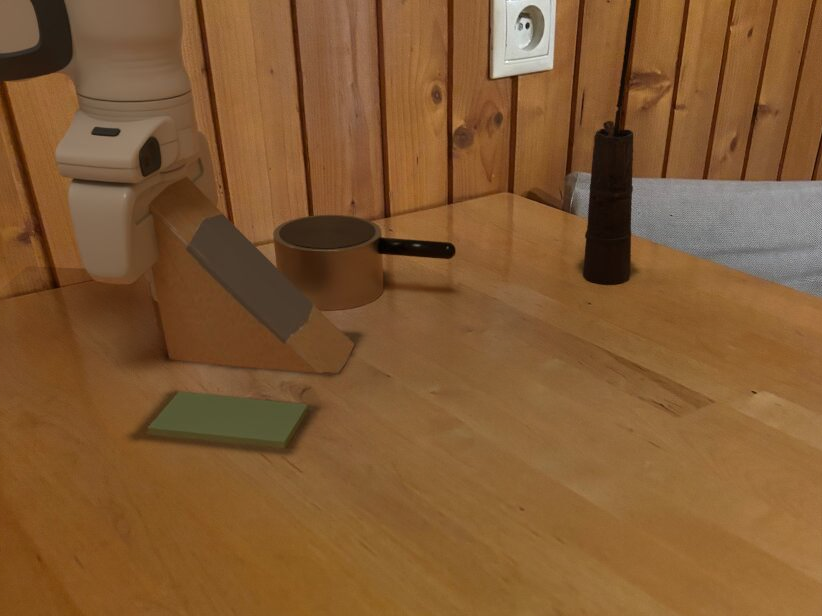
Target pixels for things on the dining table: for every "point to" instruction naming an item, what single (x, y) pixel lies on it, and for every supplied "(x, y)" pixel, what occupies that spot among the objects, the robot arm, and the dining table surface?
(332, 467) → the dining table surface
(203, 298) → the sandwich container
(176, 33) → the robot arm
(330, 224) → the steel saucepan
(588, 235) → the butter churn
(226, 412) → the green rectangular slab
